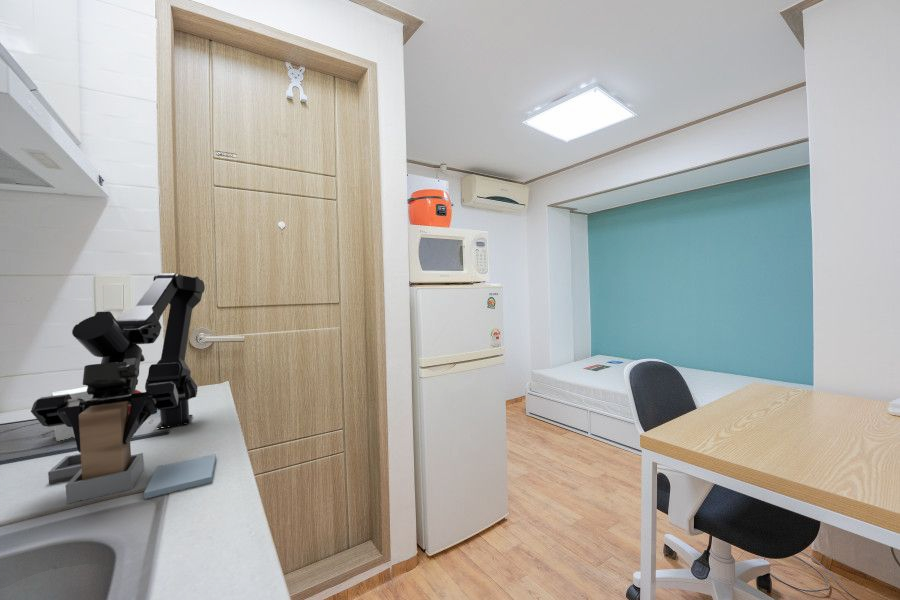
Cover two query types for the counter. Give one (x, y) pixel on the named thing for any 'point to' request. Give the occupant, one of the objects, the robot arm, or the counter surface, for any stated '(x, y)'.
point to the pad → (181, 475)
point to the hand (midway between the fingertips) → (103, 447)
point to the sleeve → (104, 482)
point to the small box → (63, 430)
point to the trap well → (65, 468)
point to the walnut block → (104, 440)
